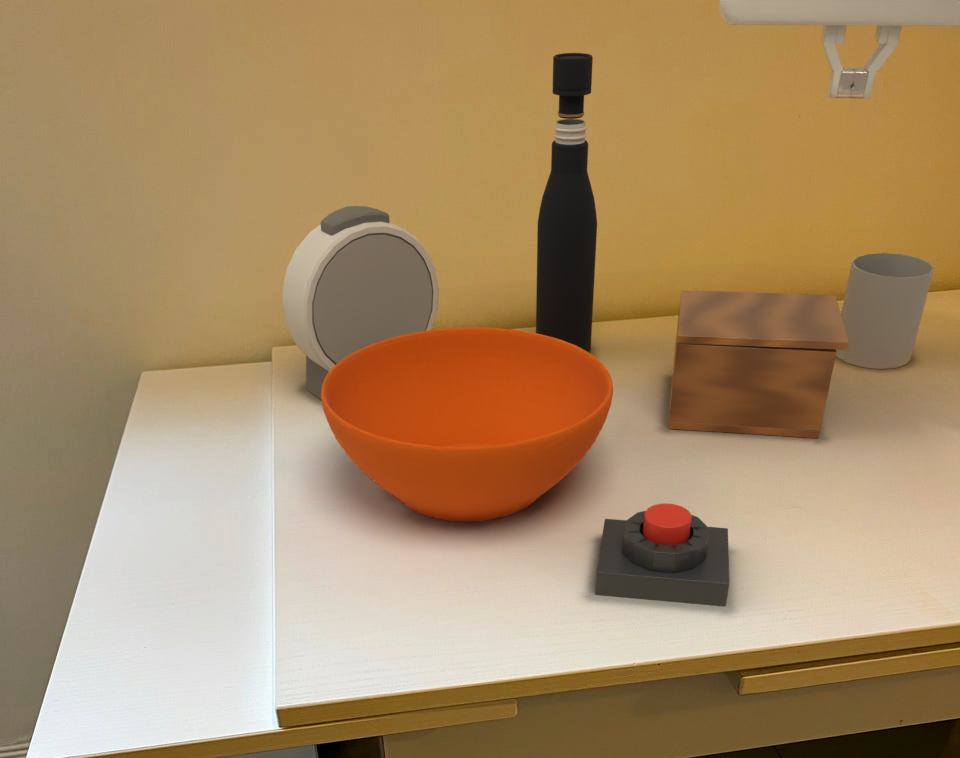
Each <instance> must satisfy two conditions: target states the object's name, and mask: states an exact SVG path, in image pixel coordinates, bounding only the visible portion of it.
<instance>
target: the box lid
mask: <svg viewBox="0 0 960 758" xmlns="http://www.w3.org/2000/svg"><path fill="white" fill-rule="evenodd" d="M679 306H680V313H679V312H678V316H679V328H678V343H684V344H709V345H734V346H759V347H784V348H808V349H833V350H847V349H848V345H849V341H848V337H847V334H846V330H845V327H844V323H843V320H842V316H841V310H840V307H839V302H838V298H837V295H836V294H813V293H812V294H811V293H810V294H809V293H785V292H784V293H782V292H749V291H720V290H719V291H718V290H717V291H715V290H687V289H685V290H684V289H682V290H681V291H680V299H679Z"/></svg>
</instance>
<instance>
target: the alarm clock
mask: <svg viewBox="0 0 960 758" xmlns="http://www.w3.org/2000/svg"><path fill="white" fill-rule="evenodd" d="M281 292H282V295H281V297H282V298H281V299H282V315H283V317H284V321H285V325H286V329H287V331H288V333H289V335H290V337H291V339H292V340H293V342H294V343H295V345H296V347H297V348H298V349H299V350H300V351H301V352H303V354H304V355H305V356H306V357H305V359H306V360H305V390H306V391H308V392H310V393H311V394H312V395H314V396H315V397H316V398H318V399H319V400H321V389H322V385H323V382H324V379H325V377H326V376H327V374H328V373H329V372H330V370H331V369H332V368H333V367H334V366H335V365H336V364H337V363H339V362H340V361H341V360H342V359H344V358H345V357H347V356H348V355H350V354H352V353H354V352H355V351H357V350H359V349H362V348H364V347H366V346H368V345H371V344H373V343H376V342H379V341H382V340H386V339H389V338H392V337H396V336H401V335H405V334H410V333H415V332H420V331H427V330H433V327H434V324H435V321H436V317H437V312H438V310H439V309H438V308H439V293H440V288H439V282H438V275H437V269H436V267H435V265H434V262H433V259H432V257H431V255H430V253H429V251H428V250H427V249H426V247H425V246H424V245H423V244H422V242H421V241H420V240H419V239H418V237H417V236H415V235H413V234H412V233H410V232H409V231H408V230H406V229H405V228H404V227H401V226H399V225H396V224H394V223H392V222H390V214H389V213H388V212H385V211H384V210H381V209H378V208H375V207H370V206H363V205H362V206H361V205H351V206H349V205H347V206H344V207H341V208H338V209H336V210H334V211H332V212H331V213H329V214H328V215H326V216H325V217H324V218H323V219H321V220H320V224H319V225H317V227H315V228H314V229H312V230H311V231H310V232H309V233H308V234H307V235H306V236H305V238H304V239H302V241H301V242H300V244H299V245H298V246H297V247H296V248H295V250H294V253H293V255H292V257H291V259H290V260H289V264H287V268H286V270H285V275H284V280H283V285H282V290H281Z"/></svg>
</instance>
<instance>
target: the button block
mask: <svg viewBox="0 0 960 758" xmlns="http://www.w3.org/2000/svg"><path fill="white" fill-rule="evenodd" d="M645 511H646V510H643V511H639V512H636V513H635V514H633V515H632V516H630V517H629V518H628V519H617V518H616V519H615V518H614V519H613V518H604V523H603V529H602V535H601V542H600V547H599V553H598V554H599V555H598V560H597V566H596V572H595V573H596V575H595V589H594V596H603V597H613V598H614V597H616V598H625V599H636V600H645V601H646V600H648V601H658V602H667V603H681V604H693V605H704V606H715V607H727V602H728V595H729V589H730V556H729V555H730V554H729V551H730V550H729V528H728V527H716V526H708V525H707V524H705V522H703V520H701V518H700V517H698V516H696V515H694V514H691V516H692V520H691V527H690V535H689V538H688V540H687V541H686V542H685V543H681V544H676V545H665V544H657V543H654V542H652V541H649V540H647V539H646V538H645V537H644V535H643V525H644V515H645Z"/></svg>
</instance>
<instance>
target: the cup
mask: <svg viewBox="0 0 960 758" xmlns="http://www.w3.org/2000/svg"><path fill="white" fill-rule="evenodd" d="M850 263H851V264H850V268H849V274H848V278H847V284H846V287H845V292H844V298H843V302H842V307H841V310H840V313H841V316H842V320H843V323H844V327H845V330H846V334H847V337H848V341H849V345H848V349H847V350H836V352H837V353H836V358H838V359H840V360H841V361H843V362H845V363H846V364H848V365H849V364H850V365H853V366H857V367H861V368H865V369H876V370H885V369H896V368H900V367H902V366H905V365H907V364H908V363H909V362H910V360H912V355H913V352H914V349H915V348H914V347H915V345H916V340H917V336H918V333H919V329H920V325H921V321H922V317H923V313H924V309H925V305H926V303H927V298H928V293H929V291H930V287H931V283H932V278H933V275H934V271H935V268H934V266H933V265H932V263H931V262H929V261H927V260H924V259H922V258H920V257H916V256H912V255H907V254H904V253H894V252H893V253H891V252H876V253H875V252H873V253H865V254H862V255H858V256H856V257H855V258H854V259H853V260H851V262H850Z"/></svg>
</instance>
